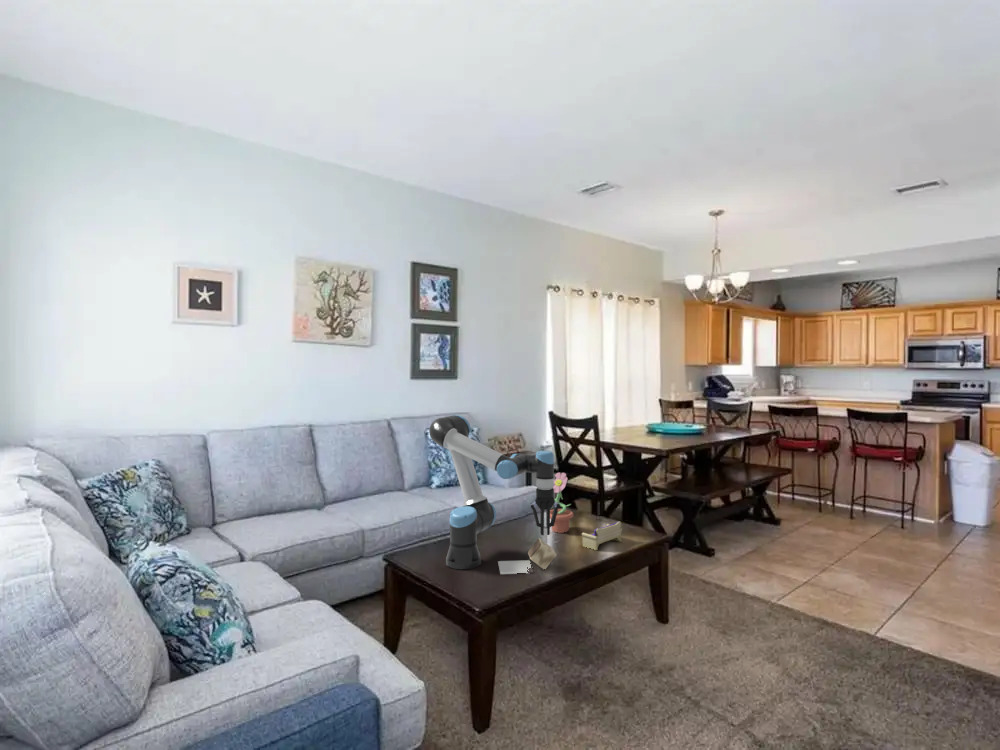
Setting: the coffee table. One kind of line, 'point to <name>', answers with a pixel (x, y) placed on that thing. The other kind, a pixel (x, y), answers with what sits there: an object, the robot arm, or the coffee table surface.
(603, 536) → the toy sofa
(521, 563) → the grey mat
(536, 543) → the maple cube
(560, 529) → the decorative flower
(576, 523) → the coffee table surface
